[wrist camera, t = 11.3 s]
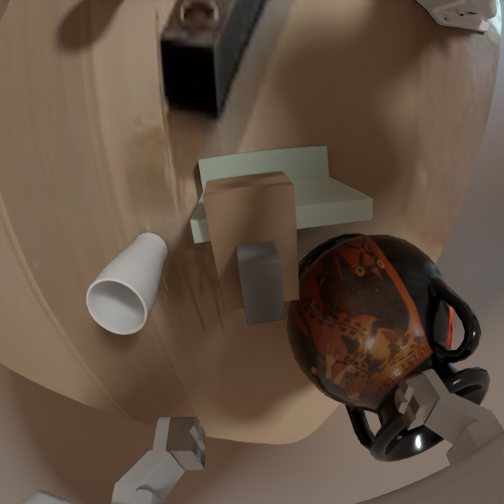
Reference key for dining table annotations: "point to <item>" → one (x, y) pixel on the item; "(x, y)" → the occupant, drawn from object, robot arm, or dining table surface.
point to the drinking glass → (128, 285)
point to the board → (305, 184)
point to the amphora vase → (380, 334)
